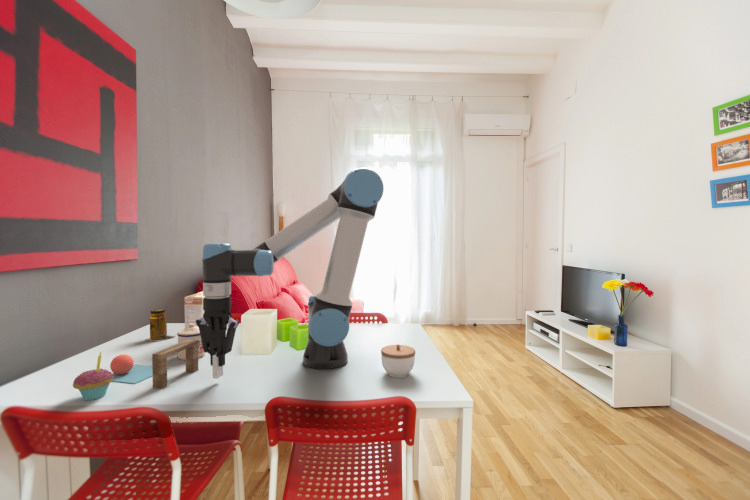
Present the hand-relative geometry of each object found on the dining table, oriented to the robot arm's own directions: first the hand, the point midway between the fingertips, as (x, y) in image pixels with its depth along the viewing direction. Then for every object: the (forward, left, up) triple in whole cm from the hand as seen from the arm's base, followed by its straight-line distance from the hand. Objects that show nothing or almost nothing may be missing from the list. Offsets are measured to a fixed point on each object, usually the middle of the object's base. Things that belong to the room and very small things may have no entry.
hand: (217, 376), depth 109 cm
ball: (+33, +1, +1) cm, 33 cm away
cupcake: (+26, +16, -2) cm, 31 cm away
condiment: (+52, -35, -2) cm, 63 cm away
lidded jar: (-50, -20, -2) cm, 54 cm away
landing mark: (+29, 0, -2) cm, 29 cm away
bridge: (+14, 0, -2) cm, 14 cm away
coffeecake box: (+32, -35, -2) cm, 47 cm away
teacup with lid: (+24, -20, -2) cm, 31 cm away
